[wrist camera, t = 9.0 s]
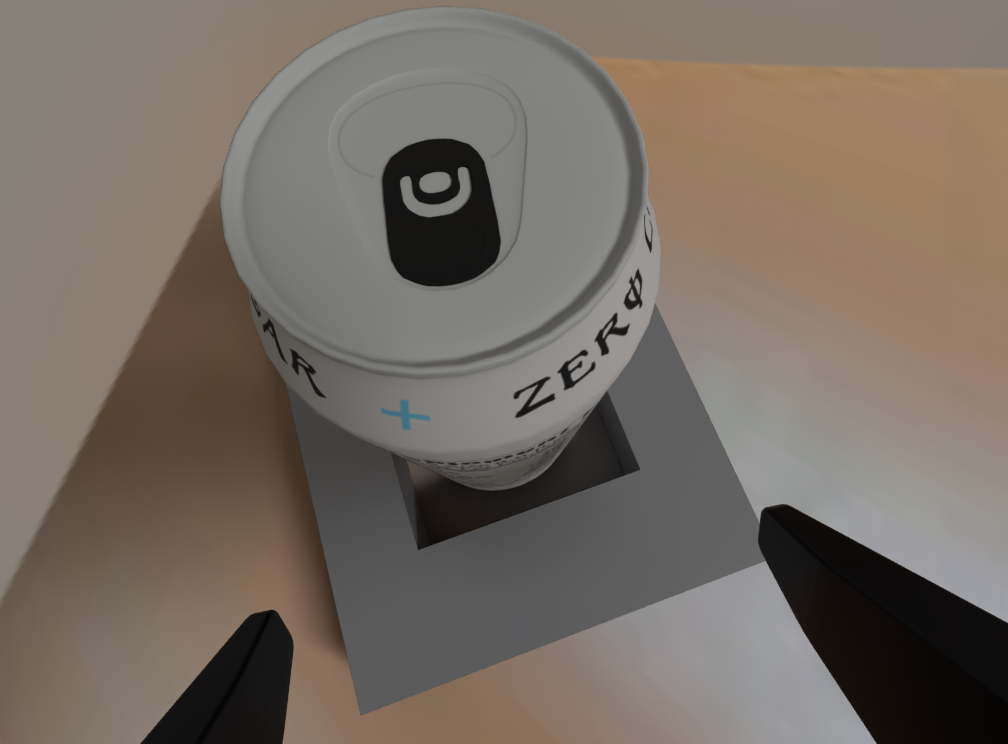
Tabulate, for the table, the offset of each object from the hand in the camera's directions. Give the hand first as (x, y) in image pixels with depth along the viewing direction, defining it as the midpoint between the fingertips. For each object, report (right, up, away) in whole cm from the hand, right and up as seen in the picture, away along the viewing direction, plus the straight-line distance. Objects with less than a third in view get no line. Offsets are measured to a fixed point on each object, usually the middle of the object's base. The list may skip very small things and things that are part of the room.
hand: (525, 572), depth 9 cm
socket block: (-1, +2, +11) cm, 11 cm away
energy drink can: (-1, +2, +11) cm, 11 cm away
